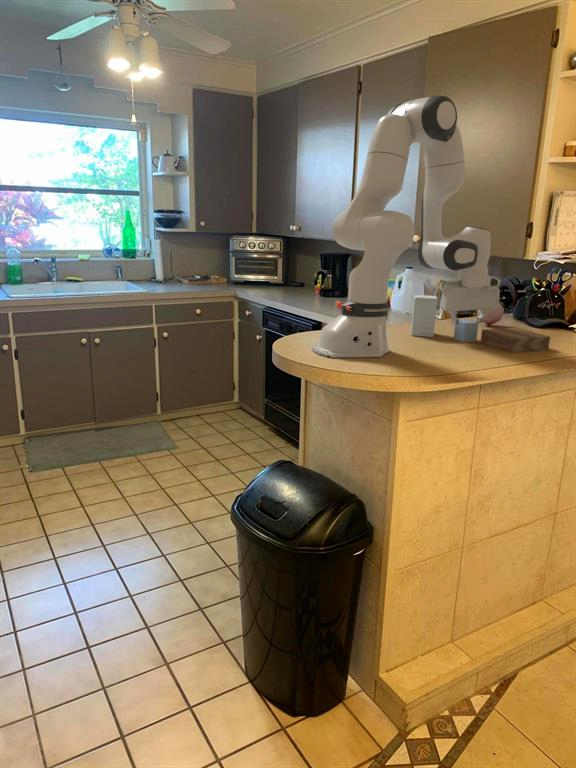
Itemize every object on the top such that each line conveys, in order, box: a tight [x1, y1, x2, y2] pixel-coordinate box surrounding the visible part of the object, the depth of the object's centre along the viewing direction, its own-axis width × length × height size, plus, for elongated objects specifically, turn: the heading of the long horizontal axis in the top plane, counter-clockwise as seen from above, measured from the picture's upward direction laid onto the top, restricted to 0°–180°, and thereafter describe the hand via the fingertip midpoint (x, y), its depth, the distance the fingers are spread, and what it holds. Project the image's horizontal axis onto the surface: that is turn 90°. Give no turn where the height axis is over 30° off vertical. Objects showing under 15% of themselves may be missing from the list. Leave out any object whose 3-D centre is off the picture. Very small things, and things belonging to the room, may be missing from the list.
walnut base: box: [480, 327, 551, 353], centre depth 178 cm, size 14×14×4 cm
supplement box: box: [410, 294, 438, 338], centre depth 190 cm, size 7×7×13 cm
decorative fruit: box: [476, 301, 506, 326], centre depth 209 cm, size 9×8×10 cm
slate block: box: [453, 319, 479, 343], centre depth 185 cm, size 5×5×6 cm
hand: (467, 323), depth 184 cm, fingers open, 8 cm apart
